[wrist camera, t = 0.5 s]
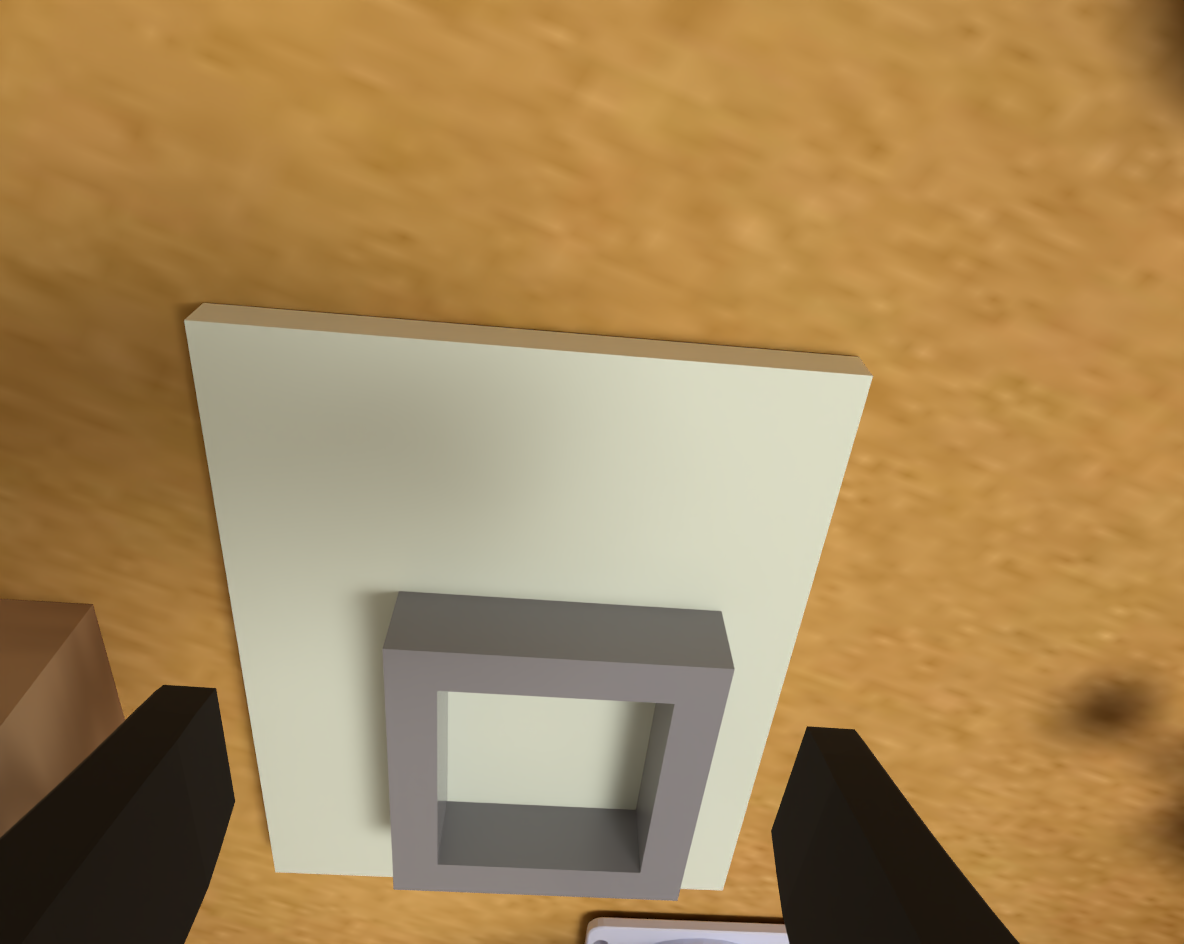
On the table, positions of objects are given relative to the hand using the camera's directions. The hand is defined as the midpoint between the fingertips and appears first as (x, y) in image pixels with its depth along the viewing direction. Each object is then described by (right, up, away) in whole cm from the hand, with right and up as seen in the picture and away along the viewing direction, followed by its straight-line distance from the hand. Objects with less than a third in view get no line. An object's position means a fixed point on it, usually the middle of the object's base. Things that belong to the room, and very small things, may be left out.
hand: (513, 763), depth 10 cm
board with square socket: (-1, -1, +12) cm, 12 cm away
